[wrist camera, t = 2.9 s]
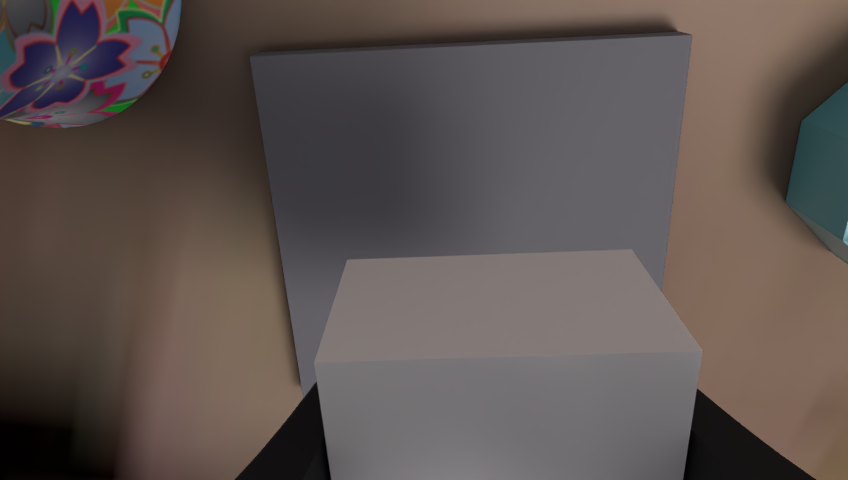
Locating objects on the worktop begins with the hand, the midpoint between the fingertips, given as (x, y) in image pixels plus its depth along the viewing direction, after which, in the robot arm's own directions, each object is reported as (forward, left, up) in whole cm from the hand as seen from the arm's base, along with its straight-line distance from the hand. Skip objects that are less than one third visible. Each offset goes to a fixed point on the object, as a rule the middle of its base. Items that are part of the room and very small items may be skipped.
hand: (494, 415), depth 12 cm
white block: (0, 0, -1) cm, 1 cm away
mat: (0, 0, -9) cm, 9 cm away
